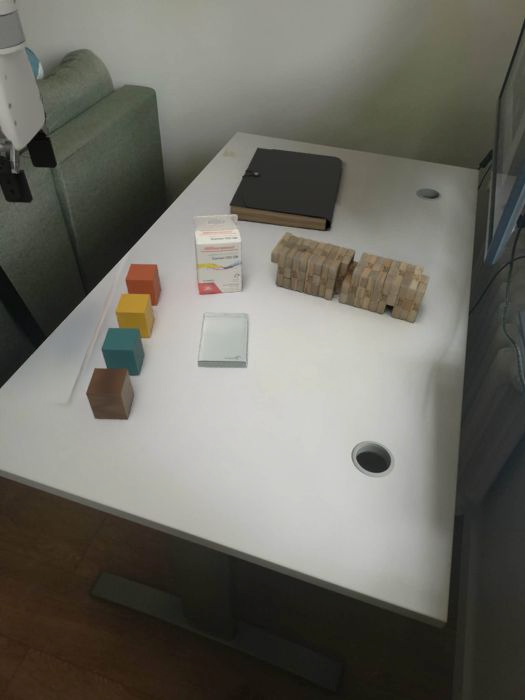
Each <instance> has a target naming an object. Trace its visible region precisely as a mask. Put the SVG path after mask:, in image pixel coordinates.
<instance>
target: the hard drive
mask: <svg viewBox="0 0 525 700" xmlns="http://www.w3.org/2000/svg"><path fill="white" fill-rule="evenodd" d="M202 316H203V317H202V325H201V331H200V339H199V347H198V356H197V367H199V368H232V369H233V368H234V369H235V368H237V369H239V368H240V369H244V368H247V364H248V363H247V361H248V360H247V359H248V329H249V328H248V327H249V314H248V313H245V312H204V313H203V315H202Z"/></svg>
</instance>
